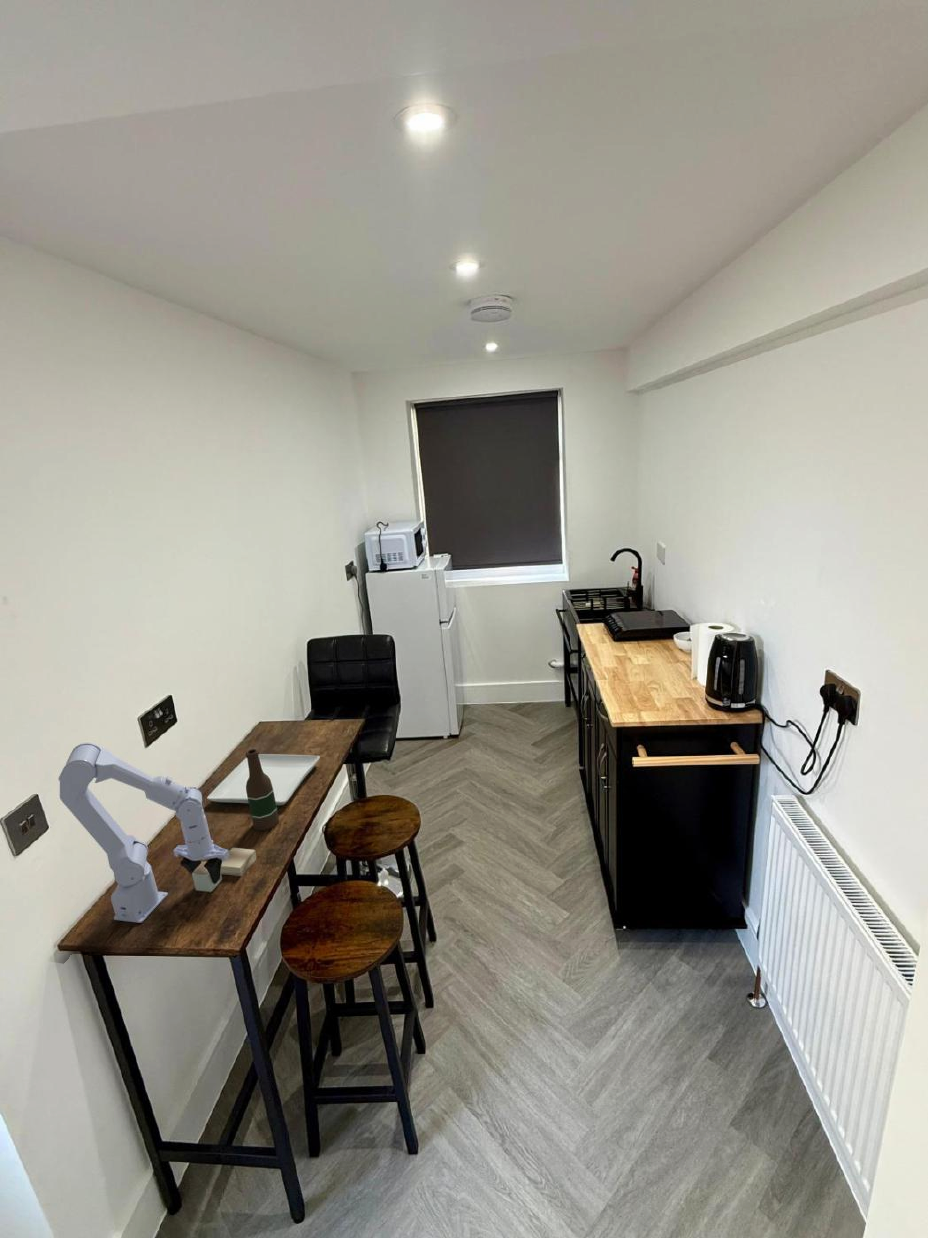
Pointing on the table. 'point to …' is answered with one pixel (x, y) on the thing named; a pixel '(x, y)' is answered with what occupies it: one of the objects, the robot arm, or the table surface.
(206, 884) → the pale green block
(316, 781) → the table surface
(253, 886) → the table surface
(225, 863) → the base block
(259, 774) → the beer bottle
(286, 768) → the square plate
